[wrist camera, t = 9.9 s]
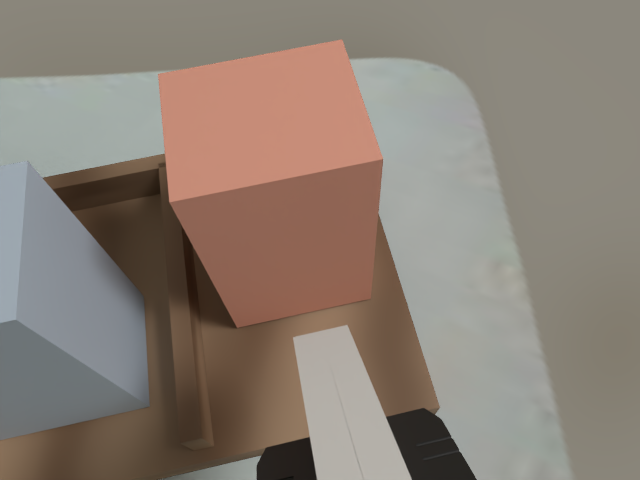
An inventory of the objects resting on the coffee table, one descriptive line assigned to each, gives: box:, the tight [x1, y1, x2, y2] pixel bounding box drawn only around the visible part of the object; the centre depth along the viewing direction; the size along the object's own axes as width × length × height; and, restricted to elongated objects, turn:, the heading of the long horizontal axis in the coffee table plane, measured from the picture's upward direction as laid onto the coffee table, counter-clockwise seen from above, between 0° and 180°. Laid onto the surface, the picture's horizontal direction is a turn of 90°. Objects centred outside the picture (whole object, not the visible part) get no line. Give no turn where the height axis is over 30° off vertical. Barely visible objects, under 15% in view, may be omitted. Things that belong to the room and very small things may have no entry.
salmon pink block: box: [158, 40, 383, 328], centre depth 20 cm, size 6×5×10 cm
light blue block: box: [0, 161, 150, 440], centre depth 18 cm, size 6×5×10 cm
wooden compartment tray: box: [0, 154, 440, 480], centre depth 24 cm, size 29×14×4 cm, turn 102°
